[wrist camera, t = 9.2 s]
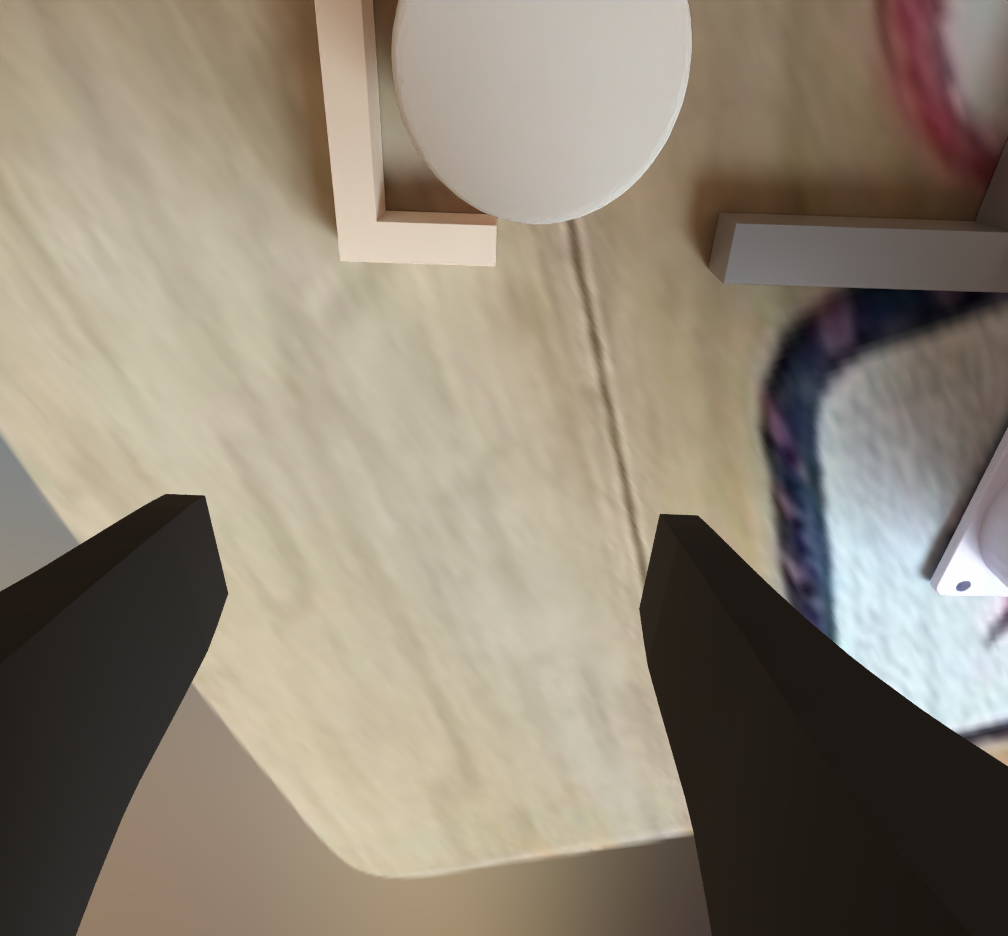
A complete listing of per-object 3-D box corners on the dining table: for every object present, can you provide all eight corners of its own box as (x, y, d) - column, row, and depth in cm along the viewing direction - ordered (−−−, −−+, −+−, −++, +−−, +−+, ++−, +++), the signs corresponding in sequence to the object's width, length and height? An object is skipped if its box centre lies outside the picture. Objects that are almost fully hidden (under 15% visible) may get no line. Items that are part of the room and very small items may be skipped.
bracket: (506, -166, 13) (507, -191, 12) (496, 252, 18) (495, 266, 17) (314, -174, 13) (293, -200, 12) (352, 247, 18) (340, 261, 16)
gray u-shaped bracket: (1249, -149, 14) (1327, -172, 12) (1046, 279, 18) (1087, 294, 17) (794, -169, 13) (825, -195, 12) (708, 268, 18) (723, 283, 17)
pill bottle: (450, 192, 17) (412, 279, 10) (404, -29, 15) (310, -125, 7) (629, 158, 17) (723, 223, 9) (613, -76, 14) (724, -227, 7)
